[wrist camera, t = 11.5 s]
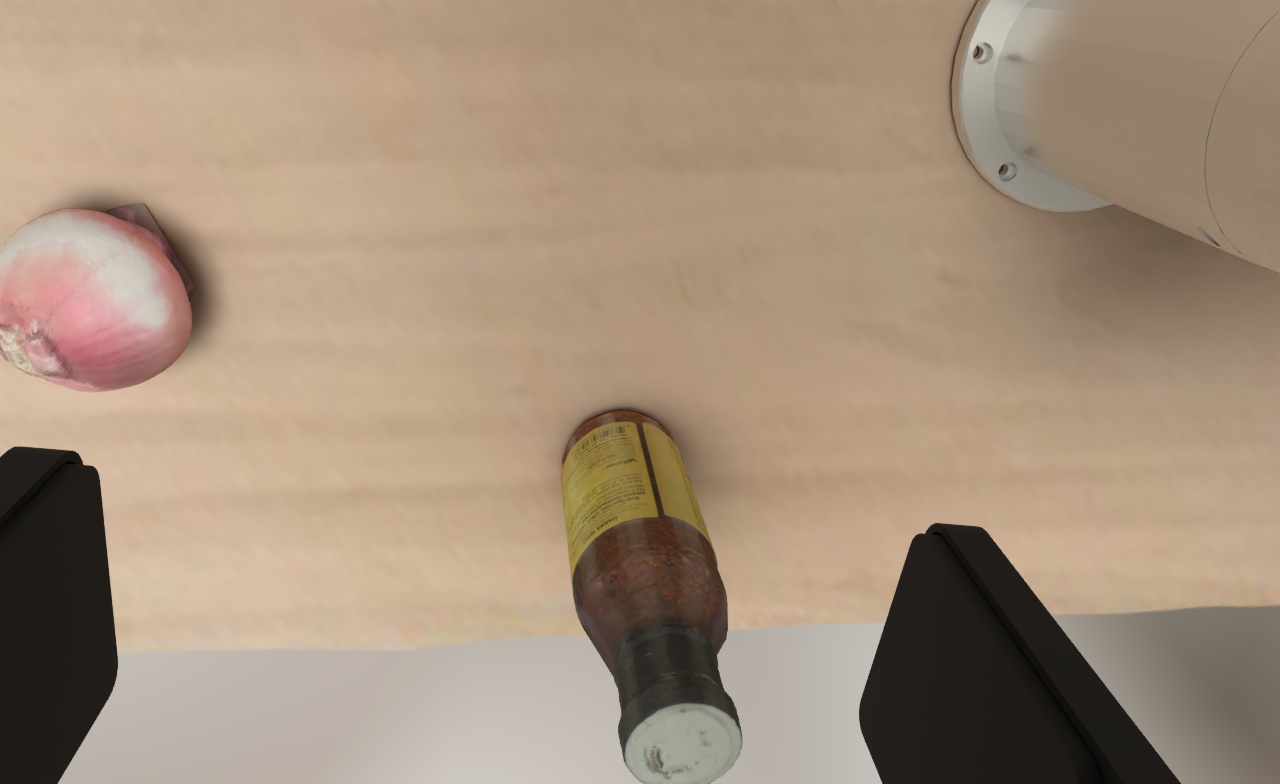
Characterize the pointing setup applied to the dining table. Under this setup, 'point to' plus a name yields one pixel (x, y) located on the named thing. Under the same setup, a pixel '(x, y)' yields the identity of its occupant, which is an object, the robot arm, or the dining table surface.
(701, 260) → the dining table surface
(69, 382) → the onion
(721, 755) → the sauce bottle
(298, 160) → the dining table surface
